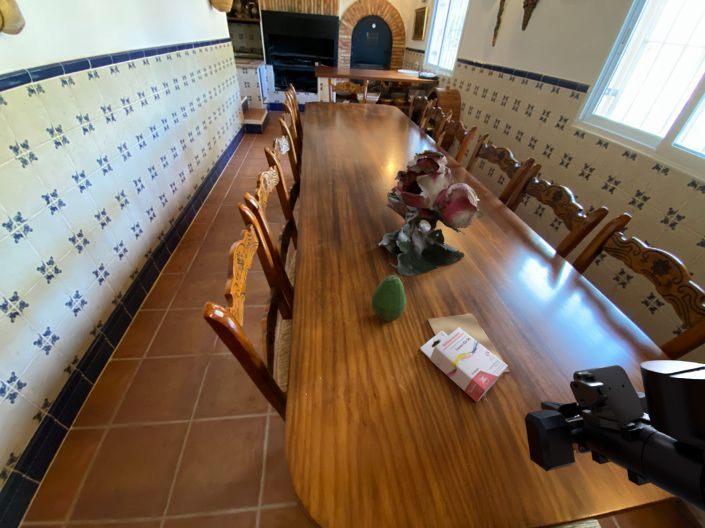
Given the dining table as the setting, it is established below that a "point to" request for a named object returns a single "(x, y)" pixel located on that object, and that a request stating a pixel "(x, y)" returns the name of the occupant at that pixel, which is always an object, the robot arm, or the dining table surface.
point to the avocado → (389, 298)
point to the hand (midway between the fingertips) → (542, 404)
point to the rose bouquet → (428, 214)
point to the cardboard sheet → (467, 325)
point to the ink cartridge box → (465, 362)
